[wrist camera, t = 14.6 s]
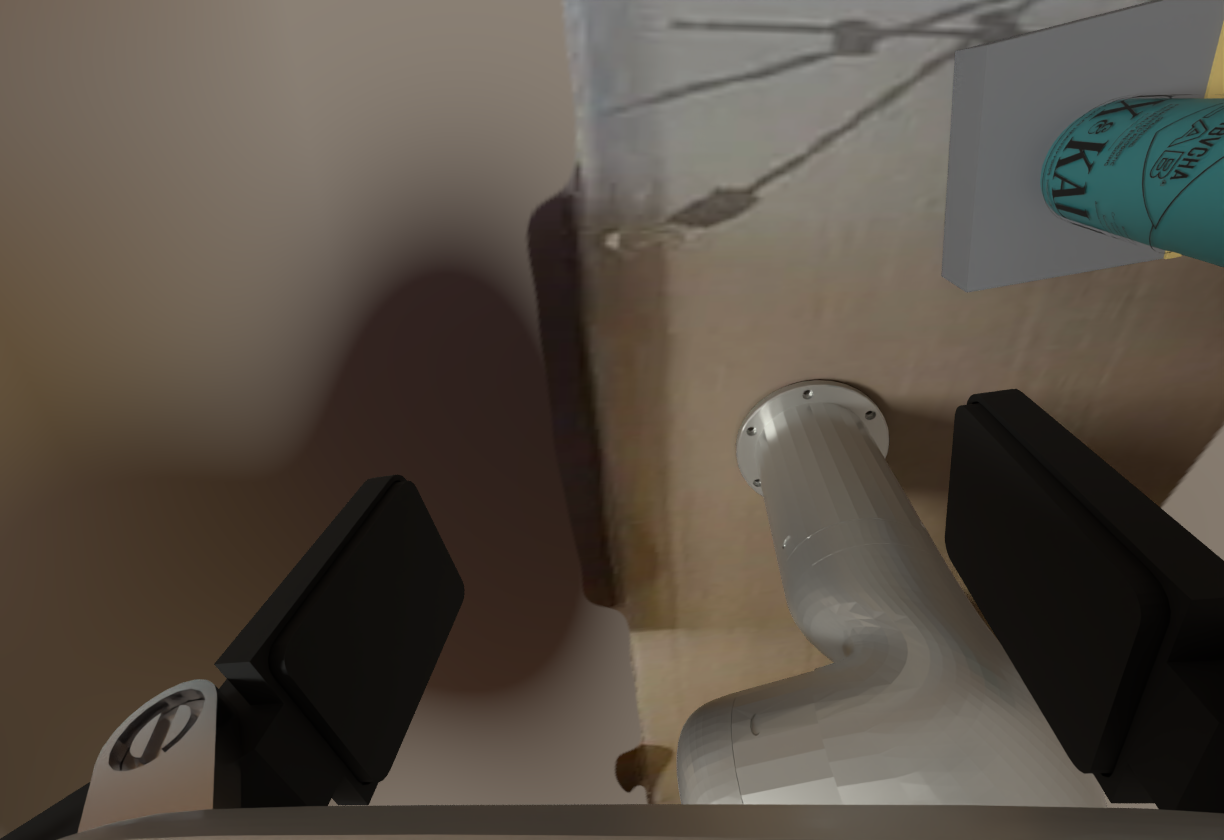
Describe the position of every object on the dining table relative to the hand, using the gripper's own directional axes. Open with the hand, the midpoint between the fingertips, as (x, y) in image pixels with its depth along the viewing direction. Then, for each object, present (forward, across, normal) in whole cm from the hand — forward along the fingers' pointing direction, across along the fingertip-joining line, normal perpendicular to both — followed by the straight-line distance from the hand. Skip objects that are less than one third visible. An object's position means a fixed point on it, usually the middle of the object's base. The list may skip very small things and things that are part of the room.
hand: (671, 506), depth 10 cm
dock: (+34, -24, +2) cm, 42 cm away
